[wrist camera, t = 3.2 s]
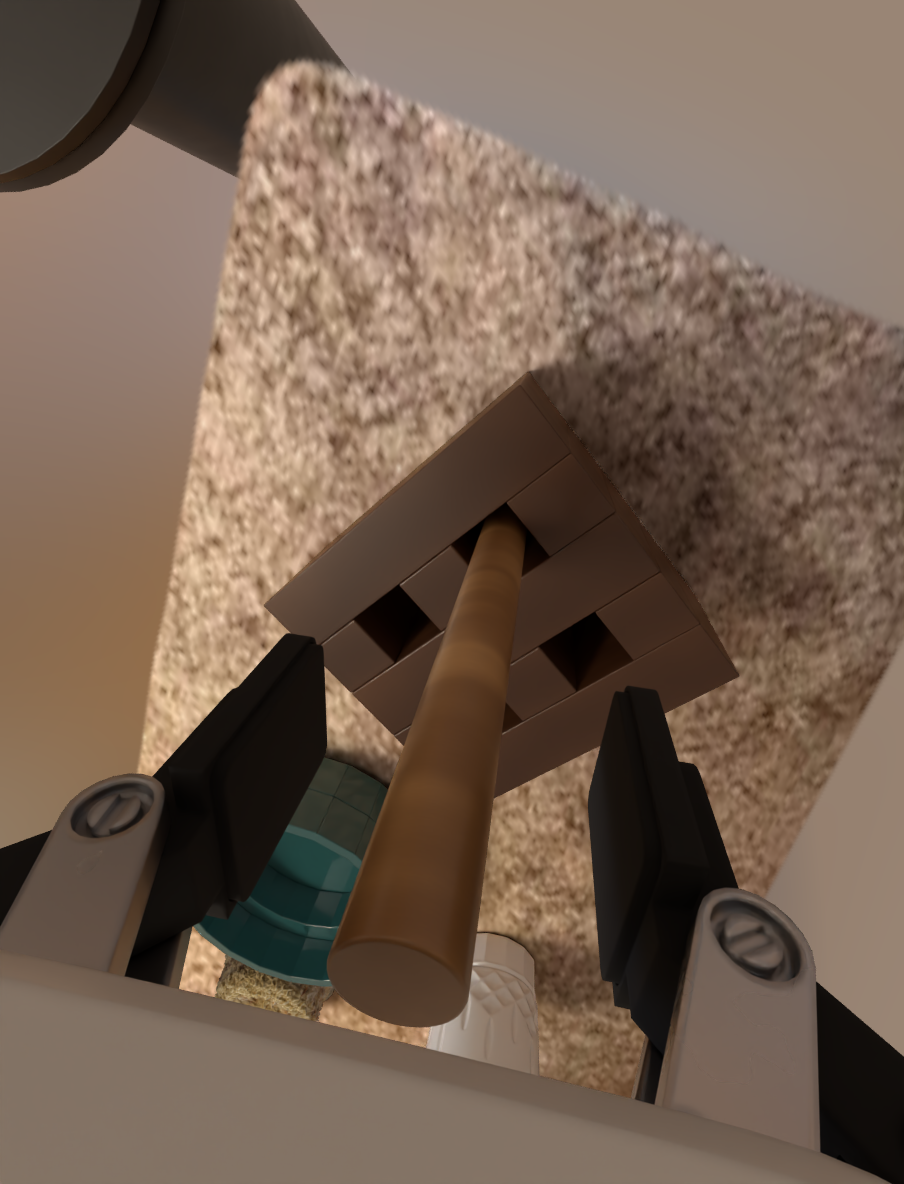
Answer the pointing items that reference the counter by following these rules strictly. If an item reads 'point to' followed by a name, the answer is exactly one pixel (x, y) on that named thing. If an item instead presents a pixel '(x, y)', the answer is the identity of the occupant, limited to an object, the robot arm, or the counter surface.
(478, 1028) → the white cup
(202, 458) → the counter surface
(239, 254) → the counter surface
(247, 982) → the tan textured clump
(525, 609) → the holder
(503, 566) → the stick
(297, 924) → the bowl
